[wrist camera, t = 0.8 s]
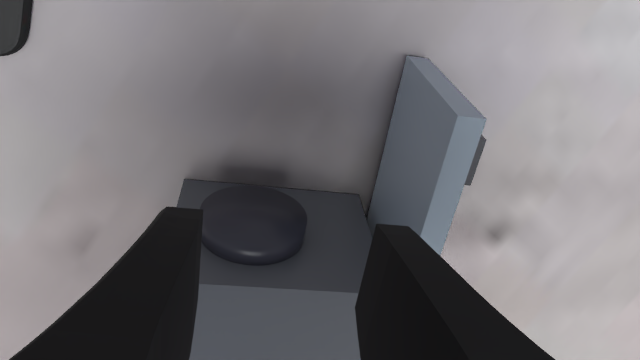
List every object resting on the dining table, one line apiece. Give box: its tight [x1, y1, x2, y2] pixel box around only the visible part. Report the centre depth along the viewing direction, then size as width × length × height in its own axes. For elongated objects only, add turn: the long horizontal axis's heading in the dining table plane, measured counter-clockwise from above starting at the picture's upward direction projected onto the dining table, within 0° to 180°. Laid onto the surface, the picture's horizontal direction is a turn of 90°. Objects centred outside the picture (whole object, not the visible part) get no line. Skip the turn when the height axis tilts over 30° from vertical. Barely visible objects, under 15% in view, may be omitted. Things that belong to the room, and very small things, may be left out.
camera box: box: [177, 179, 372, 360], centre depth 20 cm, size 10×7×7 cm
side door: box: [367, 56, 486, 255], centre depth 20 cm, size 16×2×6 cm, turn 171°
